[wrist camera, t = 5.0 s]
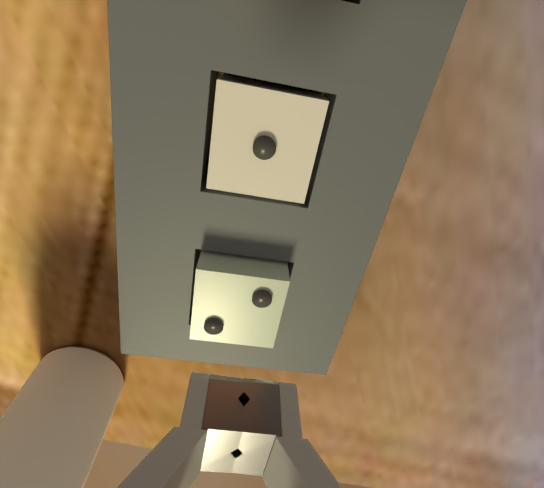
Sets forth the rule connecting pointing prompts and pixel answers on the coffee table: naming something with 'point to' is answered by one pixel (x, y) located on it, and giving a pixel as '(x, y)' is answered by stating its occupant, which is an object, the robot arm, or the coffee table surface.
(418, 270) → the coffee table surface
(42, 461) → the can
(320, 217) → the button board
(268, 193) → the one dot button
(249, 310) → the two dot button
